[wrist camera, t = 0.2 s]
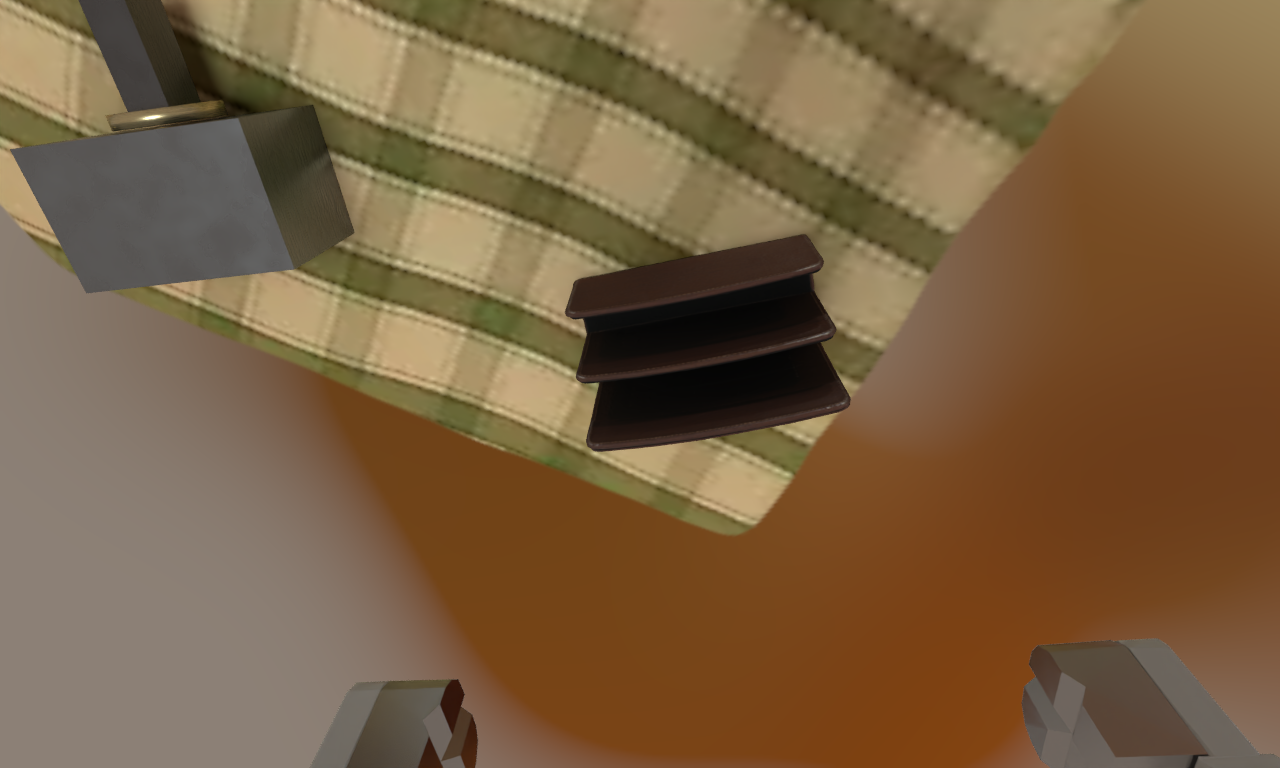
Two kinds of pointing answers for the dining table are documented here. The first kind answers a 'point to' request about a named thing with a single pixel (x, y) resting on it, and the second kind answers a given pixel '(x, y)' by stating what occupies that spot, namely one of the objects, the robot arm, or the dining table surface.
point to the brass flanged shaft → (146, 65)
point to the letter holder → (706, 346)
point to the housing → (190, 199)
